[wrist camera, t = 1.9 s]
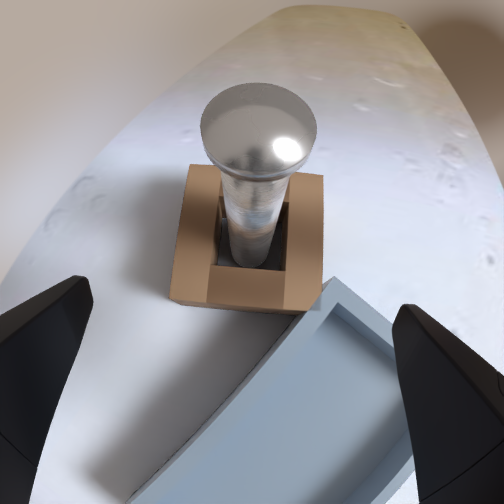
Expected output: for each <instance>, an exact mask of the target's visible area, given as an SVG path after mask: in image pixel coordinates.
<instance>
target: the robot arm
mask: <svg viewBox="0 0 504 504" xmlns="http://www.w3.org/2000/svg"><path fill="white" fill-rule="evenodd" d="M92 308H93V297H92V293H91V289H90V285H89V281H88V279H87V278H86V277H84V276H77V275H74V276H72V277H70V278H68V279H66V280H64V281H62V282H60V283H58V284H56V285H55V286H53V287H51V288H49V289H47V290H45V291H43V292H41V293H40V294H38V295H36V296H34V297H32V298H30V299H29V300H27V301H25V302H23V303H21V304H20V305H18V306H16V307H14V308H12V309H11V310H9V311H7V312H5V313H4V314H2V315H0V504H29V500H30V496H31V492H32V488H33V484H34V480H35V476H36V472H37V467H38V464H39V461H40V457H41V454H42V450H43V447H44V444H45V440H46V437H47V434H48V431H49V428H50V425H51V422H52V419H53V416H54V413H55V410H56V407H57V405H58V402H59V399H60V396H61V394H62V391H63V388H64V386H65V383H66V381H67V378H68V375H69V373H70V370H71V368H72V366H73V363H74V361H75V358H76V356H77V353H78V351H79V348H80V345H81V342H82V339H83V336H84V332H85V329H86V326H87V323H88V320H89V317H90V314H91V311H92ZM392 339H393V345H394V352H395V360H396V368H397V375H398V380H399V385H400V389H401V394H402V399H403V403H404V408H405V413H406V418H407V423H408V429H409V434H410V440H411V446H412V452H413V458H414V465H415V472H416V480H417V488H418V496H419V504H504V376H503V375H502V374H501V373H500V372H499V371H497V370H496V369H495V368H494V367H493V366H492V365H490V364H489V363H488V362H487V361H486V360H484V359H483V358H482V357H481V356H480V355H478V354H477V353H476V352H475V351H474V350H472V349H471V348H470V347H469V346H467V345H466V344H465V343H464V342H463V341H461V340H460V339H459V338H458V337H456V336H455V335H454V334H453V333H451V332H450V331H449V330H448V329H446V328H445V327H444V326H443V325H441V324H440V323H439V322H437V321H436V320H435V319H434V318H432V317H431V316H430V315H428V314H427V313H426V312H425V311H423V310H422V309H421V308H419V307H418V306H417V305H415V304H403V305H402V306H401V307H400V309H399V311H398V314H397V316H396V318H395V321H394V323H393V326H392Z"/></svg>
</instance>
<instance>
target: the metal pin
mask: <svg viewBox="0 0 504 504" xmlns="http://www.w3.org/2000/svg"><path fill="white" fill-rule="evenodd" d="M200 129H201V136H202V141H203V146H204V149H205V152H206V154H207V156H208V158H209V159H210V161H211V162H212V163H213V164H214V165H215V166H216V167H217V168H218V169H219V170H221V178H222V186H223V194H224V201H225V209H226V216H227V224H228V231H229V238H230V245H231V252H232V256H233V258H234V260H235V261H236V262H237V263H238V264H239V265H241V266H243V267H247V268H253V267H257V266H259V265H260V264H262V263H263V262H264V261H265V259H266V258H267V255H268V252H269V248H270V245H271V241H272V238H273V234H274V231H275V227H276V224H277V220H278V217H279V213H280V210H281V206H282V203H283V199H284V195H285V192H286V188H287V185H288V181H289V178H290V175H291V174H293V173H295V172H296V171H297V170H299V169H300V168H301V167H302V166H303V165H304V163H305V162H306V161H307V159H308V157H309V156H310V153H311V150H312V147H313V145H314V142H315V139H316V134H317V125H316V120H315V117H314V115H313V113H312V111H311V109H310V108H309V106H308V105H307V104H306V103H305V102H304V101H303V100H302V99H301V98H300V97H299V96H297V95H296V94H294V93H293V92H291V91H289V90H287V89H285V88H282V87H280V86H276V85H272V84H267V83H246V84H241V85H237V86H234V87H231V88H229V89H226V90H224V91H223V92H221V93H219V94H218V95H217V96H215V97H214V98H213V99H212V100H211V101H210V102H209V104H208V105H207V106H206V108H205V110H204V112H203V114H202V117H201V123H200Z"/></svg>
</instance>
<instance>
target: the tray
mask: <svg viewBox="0 0 504 504" xmlns="http://www.w3.org/2000/svg"><path fill="white" fill-rule="evenodd" d="M321 296H322V297H321ZM317 299H318V300H316V301H315V302H314V306H317V307H314V306H313V305H312V306H311V307H310V308H311V310H310V309H309V310H308V311H306V312H304V313H301V314H299V315H297V316H296V317H295V318H294V320H293V321H292V322H291V323H290V325H289V326H288V327H287V328H286V330H285V331H284V332H283V333H282V335H281V336H280V337H279V338H278V339H277V341H276V342H275V343H274V344H273V346H272V347H271V348H270V349H269V350H268V352H267V353H266V354H265V355H264V356H263V357H262V359H261V360H260V361H259V362H258V363H257V365H256V366H255V367H254V368H253V369H252V370H251V372H250V373H249V374H248V375H247V376H246V377H245V378H244V380H243V381H242V382H241V383H240V384H239V385H238V386H237V388H236V389H235V390H234V391H233V392H232V393H231V394H230V395H229V397H228V398H227V399H226V400H225V401H224V402H223V403H222V404H221V405H220V407H219V408H218V409H217V410H216V411H215V412H214V413H213V414H212V415H211V416H210V417H209V418H208V420H207V421H206V422H205V423H204V424H203V425H202V426H201V427H200V428H199V429H198V430H197V431H196V432H195V433H194V434H193V435H192V436H191V438H190V439H189V440H188V441H187V442H186V443H185V444H184V445H183V446H182V447H181V448H180V449H179V450H178V451H177V452H176V453H175V454H174V455H173V456H172V457H171V458H170V459H169V460H168V461H167V462H166V463H165V464H164V465H163V466H162V467H161V468H160V469H159V470H158V471H157V472H156V473H155V474H154V475H153V476H152V477H151V478H150V479H148V480H147V481H146V482H145V483H144V484H143V485H142V486H141V487H140V488H139V489H138V490H137V491H136V492H135V493H134V494H133V495H131V497H130V498H129V499H128V501H127V502H126V503H125V504H385V503H386V502H387V501H388V500H389V499H390V498H391V497H392V496H393V495H394V494H395V492H396V491H397V490H398V489H399V488H400V487H401V486H402V484H403V483H404V482H405V481H406V480H407V479H408V477H409V476H410V475H411V474H412V472H413V471H414V470H415V465H414V458H413V452H412V446H411V440H410V434H409V429H408V423H407V418H406V413H405V408H404V403H403V399H402V394H401V389H400V385H399V380H398V375H397V368H396V360H395V352H394V345H393V339H392V326H393V324H392V323H390V322H389V321H388V320H387V319H386V318H384V317H383V316H382V315H381V314H380V313H378V312H377V311H376V310H375V309H374V308H373V307H371V306H370V305H369V304H368V303H366V302H365V301H364V300H363V299H362V298H360V297H359V296H358V295H357V294H356V293H354V292H353V291H352V290H351V289H350V288H348V287H347V286H346V285H345V284H343V283H342V282H341V281H340V280H339V279H337V278H336V277H335V276H334V277H332V278H331V279H329V280H328V281H326V282H325V283H324V284H322V293H321V294H320V297H319V298H317ZM319 299H320V300H319ZM318 301H319V302H318ZM316 303H317V304H318V303H319V304H318V305H317V304H316ZM320 303H321V304H320ZM318 306H319V307H318ZM312 308H314V311H313V309H312ZM315 310H316V311H315ZM317 310H318V311H317ZM320 310H321V311H320Z"/></svg>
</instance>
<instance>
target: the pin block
mask: <svg viewBox="0 0 504 504" xmlns="http://www.w3.org/2000/svg"><path fill="white" fill-rule="evenodd" d="M323 213H324V205H323V175H317V174H308V173H299V172H295V173H293V174H291V175H290V178H289V181H288V185H287V188H286V192H285V195H284V199H283V203H282V206H281V210H280V213H279V217H278V220H277V223H282V236H281V254H280V270H279V271H275V270H262V269H251V268H239V267H227V266H217V261H218V252H219V243H220V234H221V226H222V218H226V219H227V216H226V209H225V201H224V194H223V186H222V178H221V170H219V169H218V168H217V167H216V166H215V165H198V164H190V166H189V171H188V176H187V182H186V187H185V193H184V198H183V204H182V210H181V216H180V222H179V228H178V235H177V241H176V248H175V255H174V262H173V270H172V277H171V285H170V293H169V299H171V300H173V301H175V302H176V303H178V304H180V305H185V306H194V307H204V308H214V309H224V310H235V311H246V312H259V313H272V314H286V315H299V314H301V313H304V312H306V311H308V310H309V309H310V310H311V308H310V307H311V306H312V305H313V306H314V302H315V301H316V300H318V299H317V298H319V297H320V294H321V293H322V272H323ZM321 297H322V296H321ZM319 300H320V299H319ZM318 302H319V301H318ZM316 304H317V303H316ZM318 304H319V303H318ZM318 304H317V305H318ZM320 304H321V303H320ZM314 307H317V306H314ZM318 307H319V306H318ZM312 309H313V311H314V308H312ZM315 311H316V310H315ZM317 311H318V310H317ZM320 311H321V310H320Z"/></svg>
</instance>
